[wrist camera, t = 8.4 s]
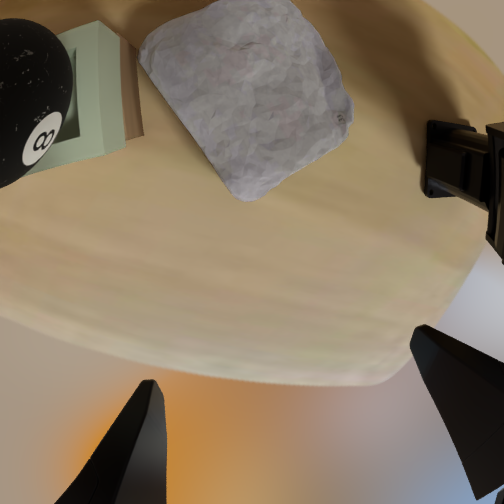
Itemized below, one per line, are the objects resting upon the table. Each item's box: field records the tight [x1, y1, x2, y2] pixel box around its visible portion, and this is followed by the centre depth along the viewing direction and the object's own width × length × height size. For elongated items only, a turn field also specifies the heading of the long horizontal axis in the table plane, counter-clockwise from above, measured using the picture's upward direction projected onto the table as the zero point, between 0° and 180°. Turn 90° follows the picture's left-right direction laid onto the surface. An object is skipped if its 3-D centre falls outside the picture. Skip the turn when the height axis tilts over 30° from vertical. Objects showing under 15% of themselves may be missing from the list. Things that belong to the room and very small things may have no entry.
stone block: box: [137, 0, 354, 202], centre depth 15 cm, size 12×5×10 cm
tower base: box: [115, 33, 144, 141], centre depth 13 cm, size 6×6×4 cm
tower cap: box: [22, 20, 126, 177], centre depth 10 cm, size 6×6×3 cm
